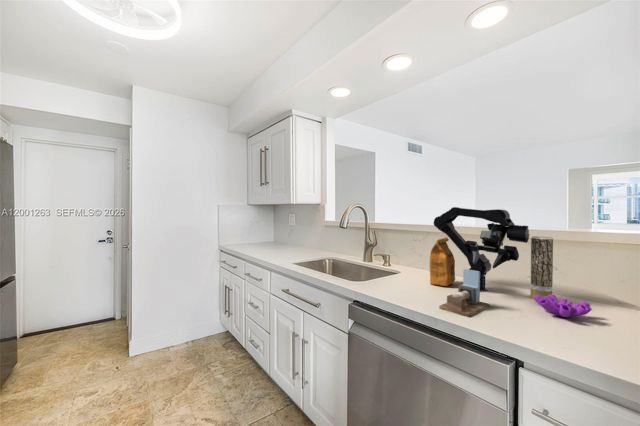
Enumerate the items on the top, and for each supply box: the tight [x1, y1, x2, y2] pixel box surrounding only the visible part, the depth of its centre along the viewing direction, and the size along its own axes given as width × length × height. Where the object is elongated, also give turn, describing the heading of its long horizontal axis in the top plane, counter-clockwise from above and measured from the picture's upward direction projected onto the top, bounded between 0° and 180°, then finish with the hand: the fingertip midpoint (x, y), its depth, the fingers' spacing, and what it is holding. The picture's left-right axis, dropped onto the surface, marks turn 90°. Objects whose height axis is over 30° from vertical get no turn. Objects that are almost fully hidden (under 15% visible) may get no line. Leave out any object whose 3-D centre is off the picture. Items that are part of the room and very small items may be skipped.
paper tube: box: [530, 235, 554, 299], centre depth 109 cm, size 7×7×25 cm
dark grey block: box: [457, 284, 476, 304], centre depth 100 cm, size 2×5×5 cm, turn 38°
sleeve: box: [461, 268, 481, 303], centre depth 102 cm, size 3×5×11 cm, turn 38°
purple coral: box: [532, 294, 593, 318], centre depth 92 cm, size 11×15×10 cm
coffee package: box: [429, 236, 456, 287], centre depth 131 cm, size 10×12×22 cm
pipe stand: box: [438, 290, 490, 318], centre depth 99 cm, size 17×10×6 cm, turn 128°
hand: (483, 265), depth 109 cm, fingers open, 7 cm apart
